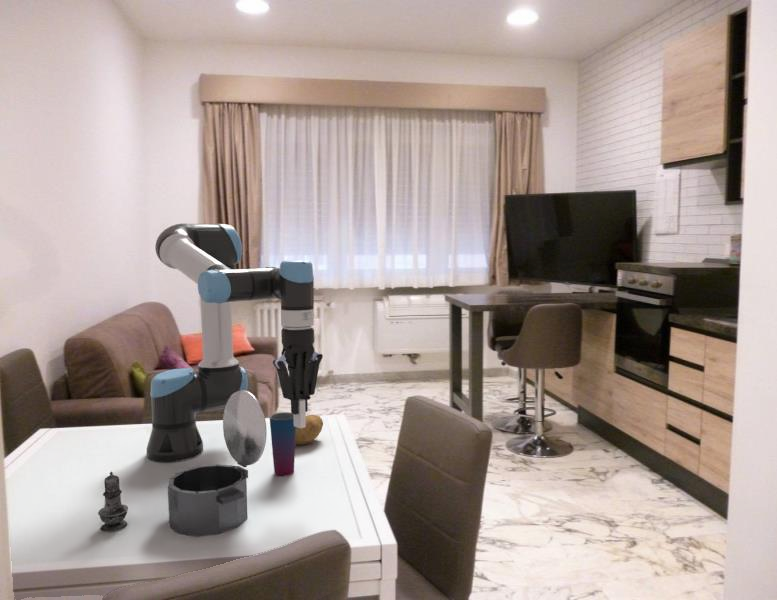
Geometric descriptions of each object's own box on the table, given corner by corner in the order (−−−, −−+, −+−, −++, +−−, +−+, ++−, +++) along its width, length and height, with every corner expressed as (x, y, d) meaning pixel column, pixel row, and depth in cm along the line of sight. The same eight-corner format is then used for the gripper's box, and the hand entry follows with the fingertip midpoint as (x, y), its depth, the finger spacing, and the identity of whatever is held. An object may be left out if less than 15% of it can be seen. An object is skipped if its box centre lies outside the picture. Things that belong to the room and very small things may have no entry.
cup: (292, 478, 156) (290, 420, 155) (266, 476, 157) (265, 418, 156) (301, 468, 163) (300, 412, 161) (276, 466, 164) (275, 411, 163)
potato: (332, 439, 186) (331, 413, 185) (298, 452, 175) (298, 425, 174) (309, 433, 192) (308, 408, 191) (275, 445, 181) (274, 419, 180)
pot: (152, 515, 135) (150, 475, 134) (220, 492, 147) (219, 456, 146) (198, 547, 121) (196, 503, 120) (269, 519, 133) (268, 479, 132)
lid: (224, 385, 144) (234, 384, 146) (221, 456, 144) (231, 454, 146) (265, 397, 132) (275, 396, 134) (261, 475, 133) (271, 473, 135)
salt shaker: (104, 520, 133) (102, 466, 132) (133, 519, 133) (130, 465, 132) (94, 533, 127) (91, 477, 126) (123, 532, 128) (121, 476, 126)
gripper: (284, 332, 135) (286, 436, 138) (329, 325, 145) (331, 423, 147) (264, 328, 141) (267, 429, 143) (309, 322, 150) (311, 417, 152)
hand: (299, 426), depth 145 cm, fingers closed
